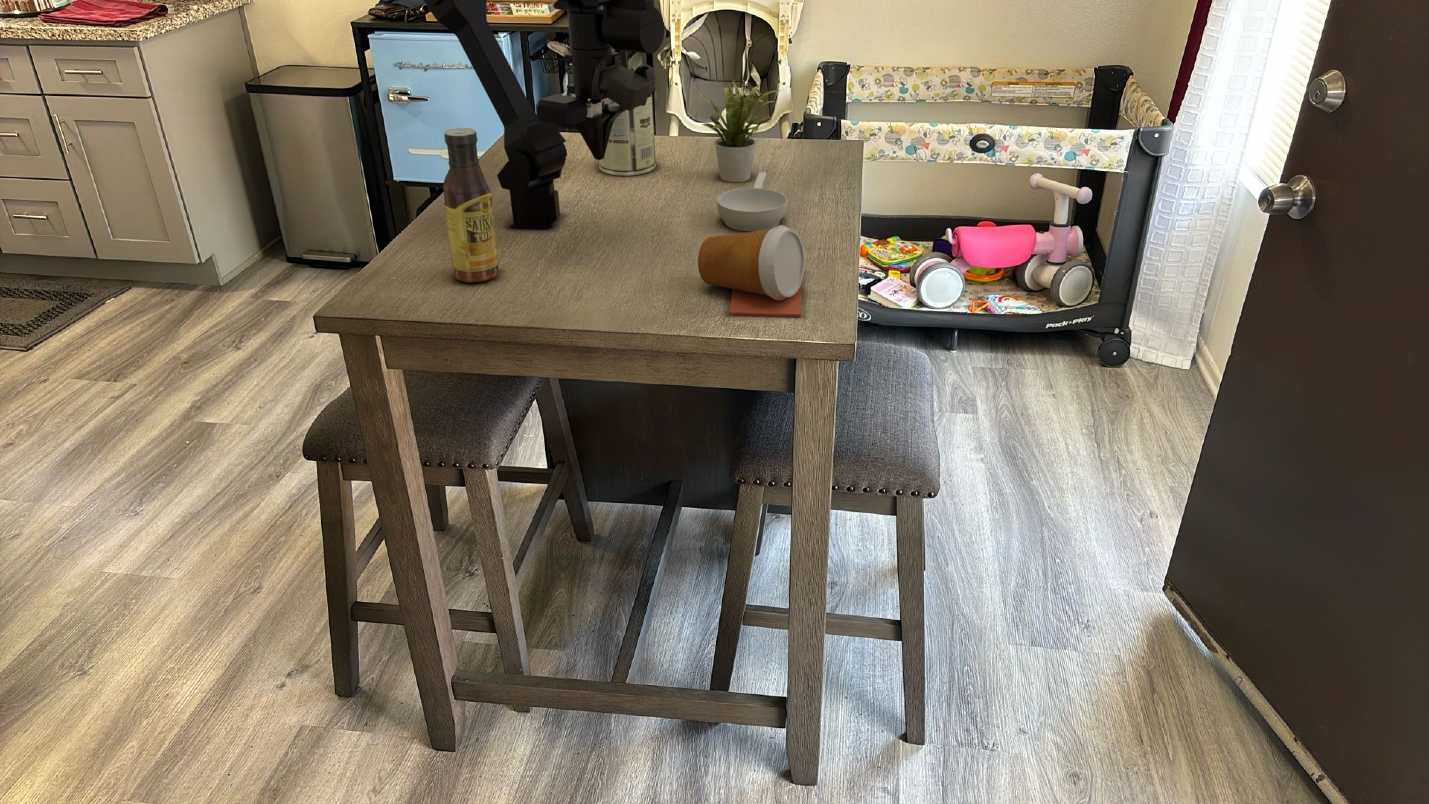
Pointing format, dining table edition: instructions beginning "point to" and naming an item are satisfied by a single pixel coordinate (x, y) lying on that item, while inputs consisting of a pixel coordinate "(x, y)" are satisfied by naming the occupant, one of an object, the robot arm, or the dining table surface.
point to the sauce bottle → (469, 210)
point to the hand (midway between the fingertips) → (599, 159)
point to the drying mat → (764, 304)
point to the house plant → (736, 134)
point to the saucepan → (752, 207)
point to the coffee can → (631, 143)
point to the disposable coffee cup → (755, 262)
